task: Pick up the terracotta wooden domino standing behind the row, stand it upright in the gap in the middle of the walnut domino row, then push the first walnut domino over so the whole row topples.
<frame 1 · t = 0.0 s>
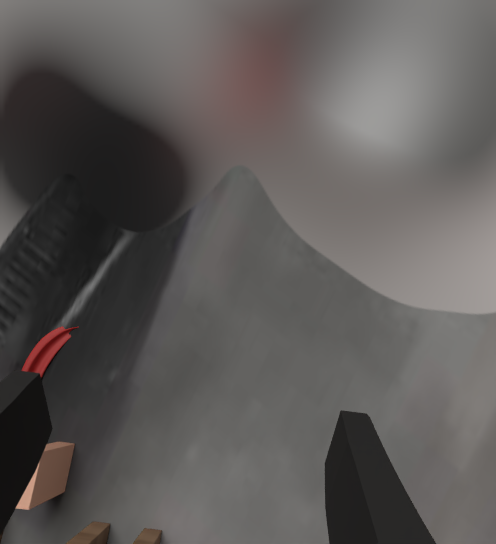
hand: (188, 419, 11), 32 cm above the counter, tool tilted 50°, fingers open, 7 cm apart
cayenne pepper: (37, 372, 43), on the counter
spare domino: (61, 466, 40), on the counter
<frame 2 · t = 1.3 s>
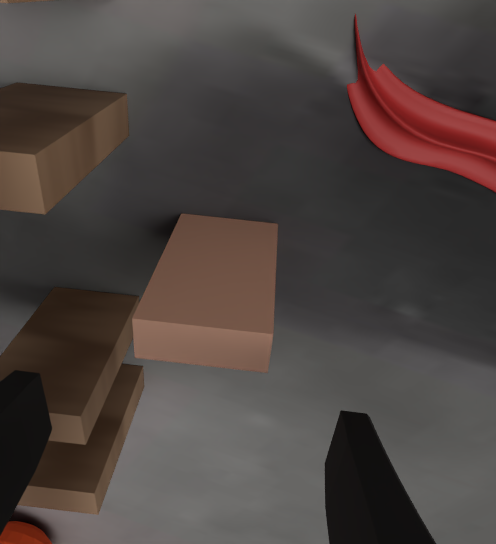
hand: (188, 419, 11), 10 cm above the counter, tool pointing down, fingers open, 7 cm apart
clementine: (33, 524, 33), on the counter
cayenne pepper: (448, 136, 17), on the counter
domino 2: (98, 304, 22), on the counter
domino 3: (74, 109, 17), on the counter
domino 1: (106, 372, 24), on the counter
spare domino: (228, 234, 19), on the counter
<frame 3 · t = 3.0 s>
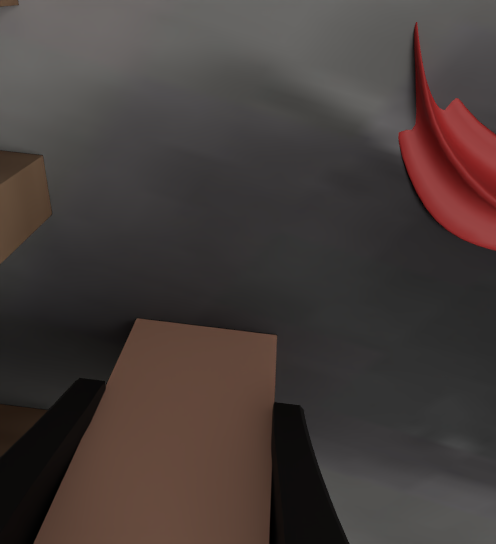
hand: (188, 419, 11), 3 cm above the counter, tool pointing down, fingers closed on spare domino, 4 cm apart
domino 2: (30, 421, 16), on the counter
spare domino: (205, 346, 13), on the counter, touching gripper
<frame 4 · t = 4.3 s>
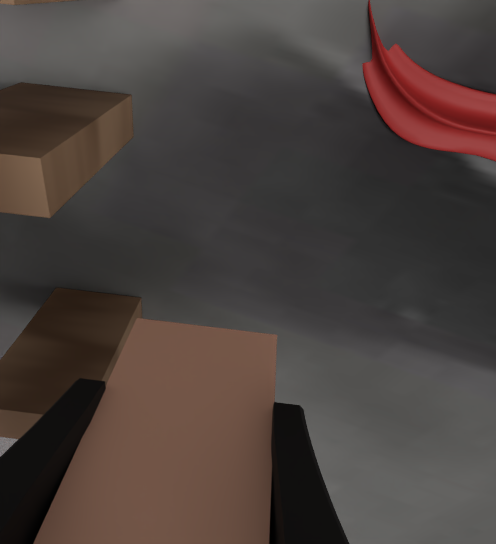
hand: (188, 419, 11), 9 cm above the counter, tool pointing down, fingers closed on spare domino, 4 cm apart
cayenne pepper: (473, 119, 16), on the counter
domino 2: (100, 305, 21), on the counter
domino 3: (78, 110, 17), on the counter
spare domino: (205, 346, 13), point 7 cm above the counter, touching gripper
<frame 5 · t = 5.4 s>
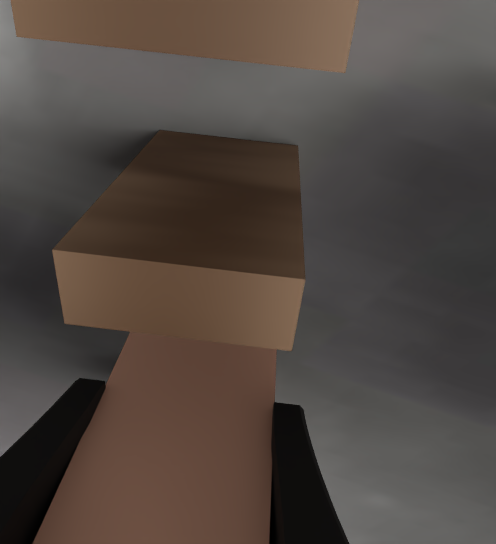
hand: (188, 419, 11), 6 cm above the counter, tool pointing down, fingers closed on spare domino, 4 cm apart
domino 3: (227, 163, 13), on the counter
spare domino: (205, 346, 13), point 3 cm above the counter, touching gripper
when the fingers open (3 cm above the counter, at t = 6.3 s): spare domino stays where it is, on the counter.
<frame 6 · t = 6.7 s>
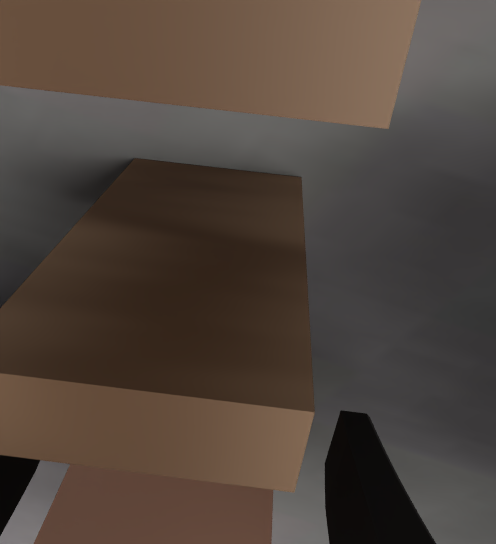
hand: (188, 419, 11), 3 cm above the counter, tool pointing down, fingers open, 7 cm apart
domino 3: (216, 196, 11), on the counter
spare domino: (209, 334, 14), on the counter
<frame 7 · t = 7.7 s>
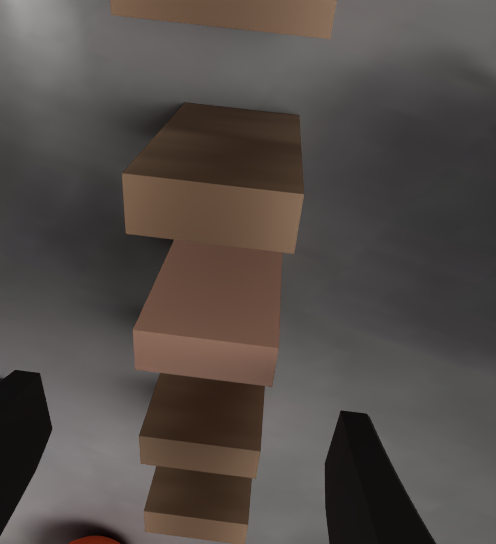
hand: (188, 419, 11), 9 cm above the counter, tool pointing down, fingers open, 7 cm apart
clementine: (112, 538, 33), on the counter
domino 2: (224, 324, 21), on the counter
domino 3: (240, 130, 16), on the counter
domino 1: (219, 391, 23), on the counter
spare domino: (232, 239, 19), on the counter
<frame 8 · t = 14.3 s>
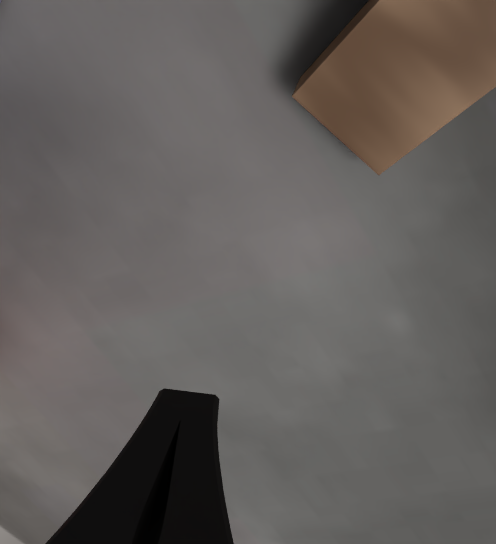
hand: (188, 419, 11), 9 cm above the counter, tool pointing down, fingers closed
domino 1: (339, 126, 15), point 1 cm above the counter, tilted 73°, touching domino 2
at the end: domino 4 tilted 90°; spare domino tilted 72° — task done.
